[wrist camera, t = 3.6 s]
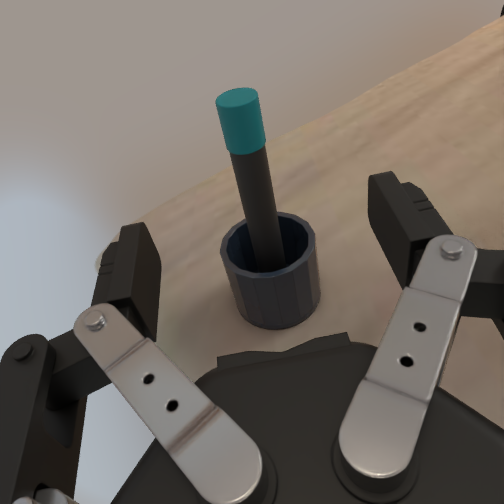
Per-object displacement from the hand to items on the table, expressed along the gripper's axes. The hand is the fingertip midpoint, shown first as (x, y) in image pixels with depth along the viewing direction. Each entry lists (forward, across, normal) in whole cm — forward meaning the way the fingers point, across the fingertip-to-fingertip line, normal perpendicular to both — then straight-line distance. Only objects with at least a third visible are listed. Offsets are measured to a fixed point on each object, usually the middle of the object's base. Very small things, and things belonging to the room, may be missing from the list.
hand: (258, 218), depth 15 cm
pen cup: (+11, 0, +17) cm, 21 cm away
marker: (+11, 0, +17) cm, 20 cm away
